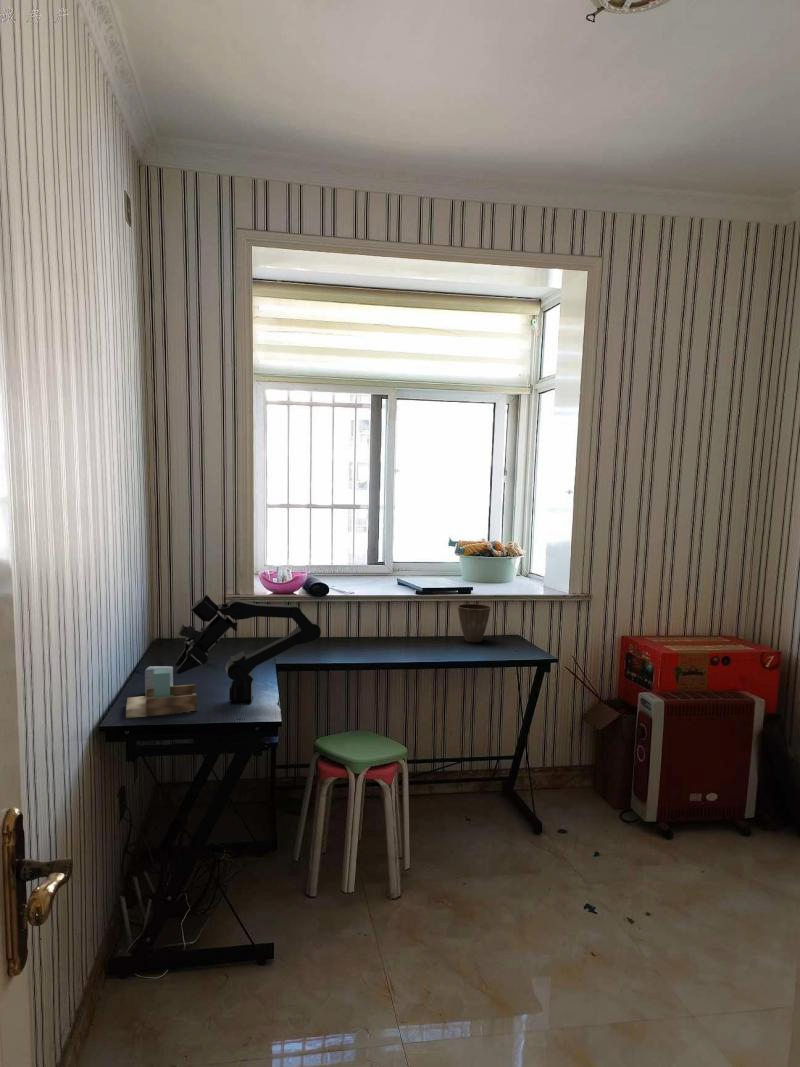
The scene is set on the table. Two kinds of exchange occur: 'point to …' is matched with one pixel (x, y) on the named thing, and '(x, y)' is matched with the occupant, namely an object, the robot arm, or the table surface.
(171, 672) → the medicine box
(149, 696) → the channel track
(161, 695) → the teal block
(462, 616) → the plant pot
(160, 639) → the table surface
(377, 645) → the table surface
